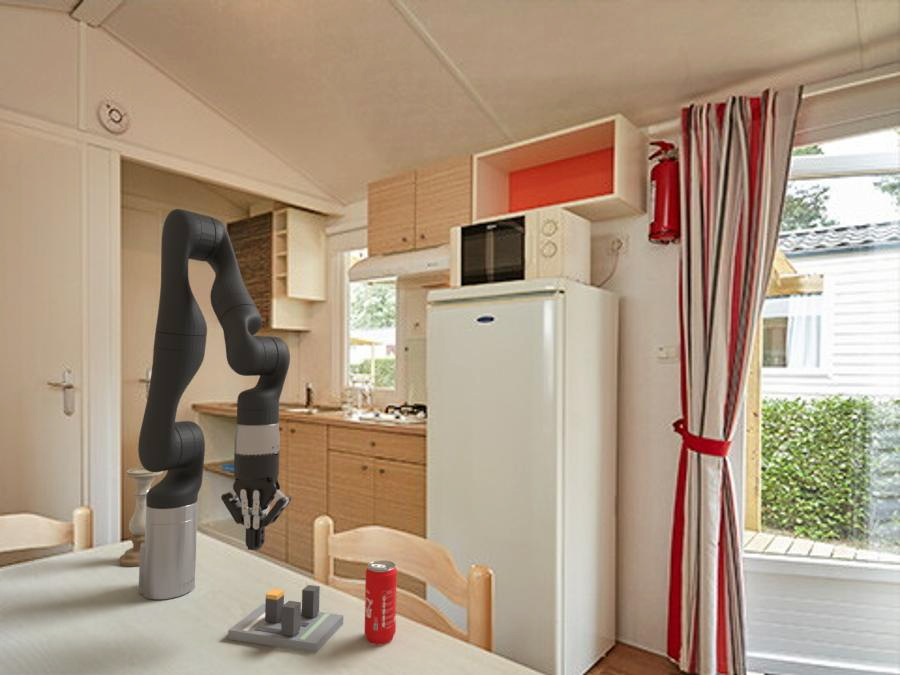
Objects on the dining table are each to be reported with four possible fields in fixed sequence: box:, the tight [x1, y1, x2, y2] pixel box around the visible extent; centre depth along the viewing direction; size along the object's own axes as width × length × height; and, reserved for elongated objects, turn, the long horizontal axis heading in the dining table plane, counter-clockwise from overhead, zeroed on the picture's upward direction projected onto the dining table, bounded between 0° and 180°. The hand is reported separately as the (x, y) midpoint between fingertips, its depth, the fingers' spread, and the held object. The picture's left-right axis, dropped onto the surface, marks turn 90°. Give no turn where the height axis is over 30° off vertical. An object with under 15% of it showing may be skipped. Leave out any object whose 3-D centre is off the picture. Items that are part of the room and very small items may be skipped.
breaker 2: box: [281, 600, 302, 636], centre depth 90 cm, size 2×2×4 cm
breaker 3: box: [301, 584, 321, 618], centre depth 97 cm, size 2×2×4 cm
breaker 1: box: [264, 588, 285, 623], centre depth 95 cm, size 2×2×4 cm
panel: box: [227, 603, 344, 654], centre depth 94 cm, size 16×10×2 cm, turn 76°
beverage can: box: [364, 560, 398, 646], centre depth 92 cm, size 5×5×12 cm
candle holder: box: [118, 466, 164, 567], centre depth 126 cm, size 9×9×20 cm
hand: (255, 548), depth 96 cm, fingers closed
